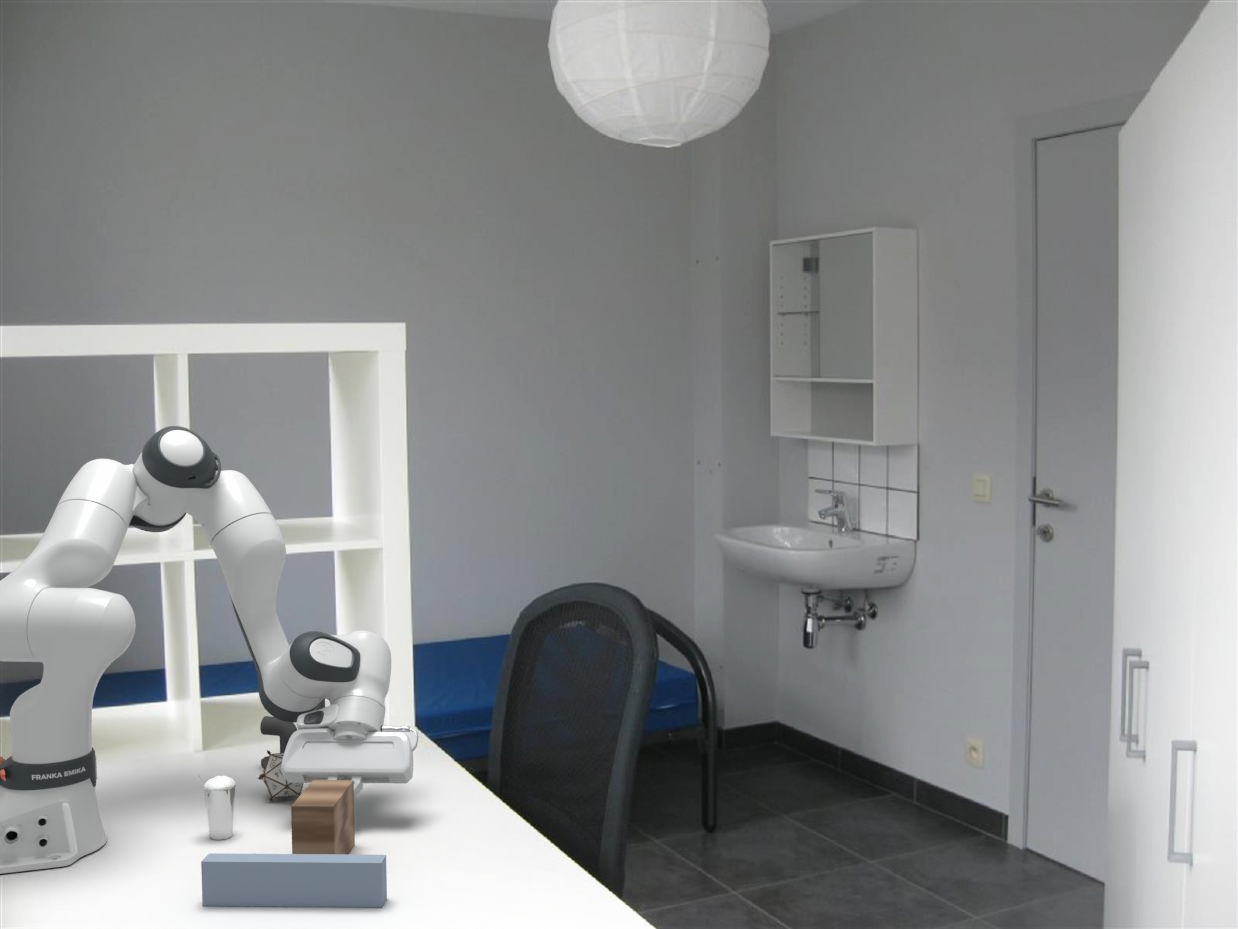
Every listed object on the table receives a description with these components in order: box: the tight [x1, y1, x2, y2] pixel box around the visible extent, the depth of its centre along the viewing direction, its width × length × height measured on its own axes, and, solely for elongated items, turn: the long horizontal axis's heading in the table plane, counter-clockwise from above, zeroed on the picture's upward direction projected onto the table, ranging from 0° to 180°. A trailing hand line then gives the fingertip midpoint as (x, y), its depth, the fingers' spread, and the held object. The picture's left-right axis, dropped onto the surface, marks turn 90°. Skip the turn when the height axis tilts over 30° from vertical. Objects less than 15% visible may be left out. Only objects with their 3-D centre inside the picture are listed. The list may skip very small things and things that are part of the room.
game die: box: [257, 749, 305, 803], centre depth 222 cm, size 9×8×10 cm
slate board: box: [200, 852, 388, 908], centre depth 179 cm, size 24×3×6 cm, turn 88°
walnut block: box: [290, 780, 356, 854], centre depth 194 cm, size 12×6×10 cm, turn 178°
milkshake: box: [198, 773, 236, 841], centre depth 204 cm, size 4×5×10 cm
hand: (341, 806), depth 205 cm, fingers closed
